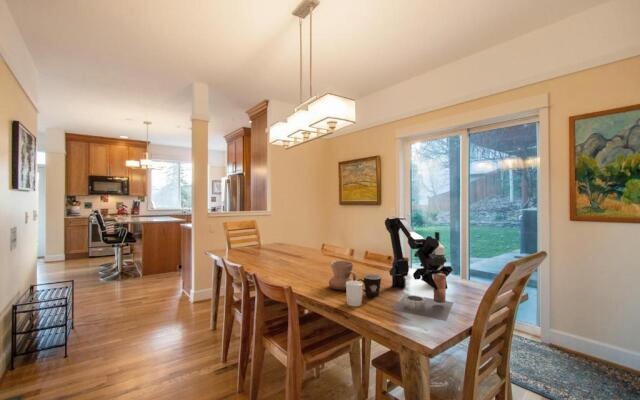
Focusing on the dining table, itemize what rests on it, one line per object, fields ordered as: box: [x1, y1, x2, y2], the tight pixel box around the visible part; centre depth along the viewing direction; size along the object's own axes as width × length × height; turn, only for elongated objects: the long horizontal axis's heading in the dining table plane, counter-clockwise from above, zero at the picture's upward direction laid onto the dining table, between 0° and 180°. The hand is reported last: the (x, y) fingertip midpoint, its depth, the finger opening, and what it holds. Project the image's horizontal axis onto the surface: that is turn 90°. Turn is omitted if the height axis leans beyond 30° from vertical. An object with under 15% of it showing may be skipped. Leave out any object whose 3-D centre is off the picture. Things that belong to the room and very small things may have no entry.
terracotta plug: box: [433, 273, 447, 303], centre depth 133 cm, size 5×5×12 cm
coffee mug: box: [356, 274, 382, 300], centre depth 149 cm, size 12×9×10 cm
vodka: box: [430, 231, 445, 280], centre depth 173 cm, size 9×9×30 cm
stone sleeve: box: [405, 294, 425, 311], centre depth 131 cm, size 8×8×4 cm
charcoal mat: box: [391, 294, 454, 321], centre depth 133 cm, size 22×24×1 cm
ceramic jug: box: [328, 260, 357, 291], centre depth 161 cm, size 18×14×14 cm
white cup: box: [345, 280, 364, 308], centre depth 138 cm, size 8×8×10 cm
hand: (441, 289), depth 132 cm, fingers closed on terracotta plug, 5 cm apart
